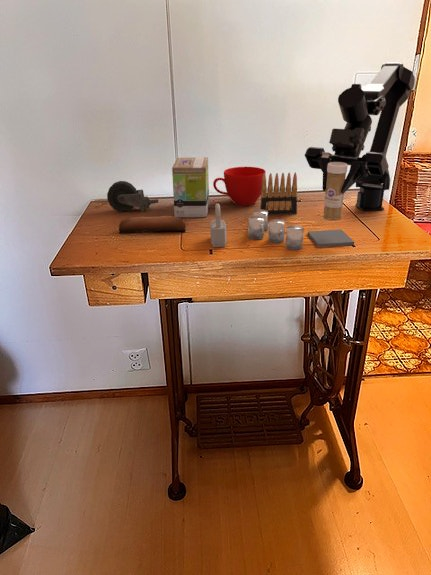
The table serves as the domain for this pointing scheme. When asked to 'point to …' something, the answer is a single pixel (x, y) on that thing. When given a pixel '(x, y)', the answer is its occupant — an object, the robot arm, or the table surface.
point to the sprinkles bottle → (334, 190)
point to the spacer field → (275, 230)
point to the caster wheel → (127, 197)
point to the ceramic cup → (242, 184)
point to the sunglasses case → (152, 224)
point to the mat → (330, 238)
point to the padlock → (218, 229)
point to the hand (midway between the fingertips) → (332, 191)
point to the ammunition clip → (279, 195)
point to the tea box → (190, 187)
